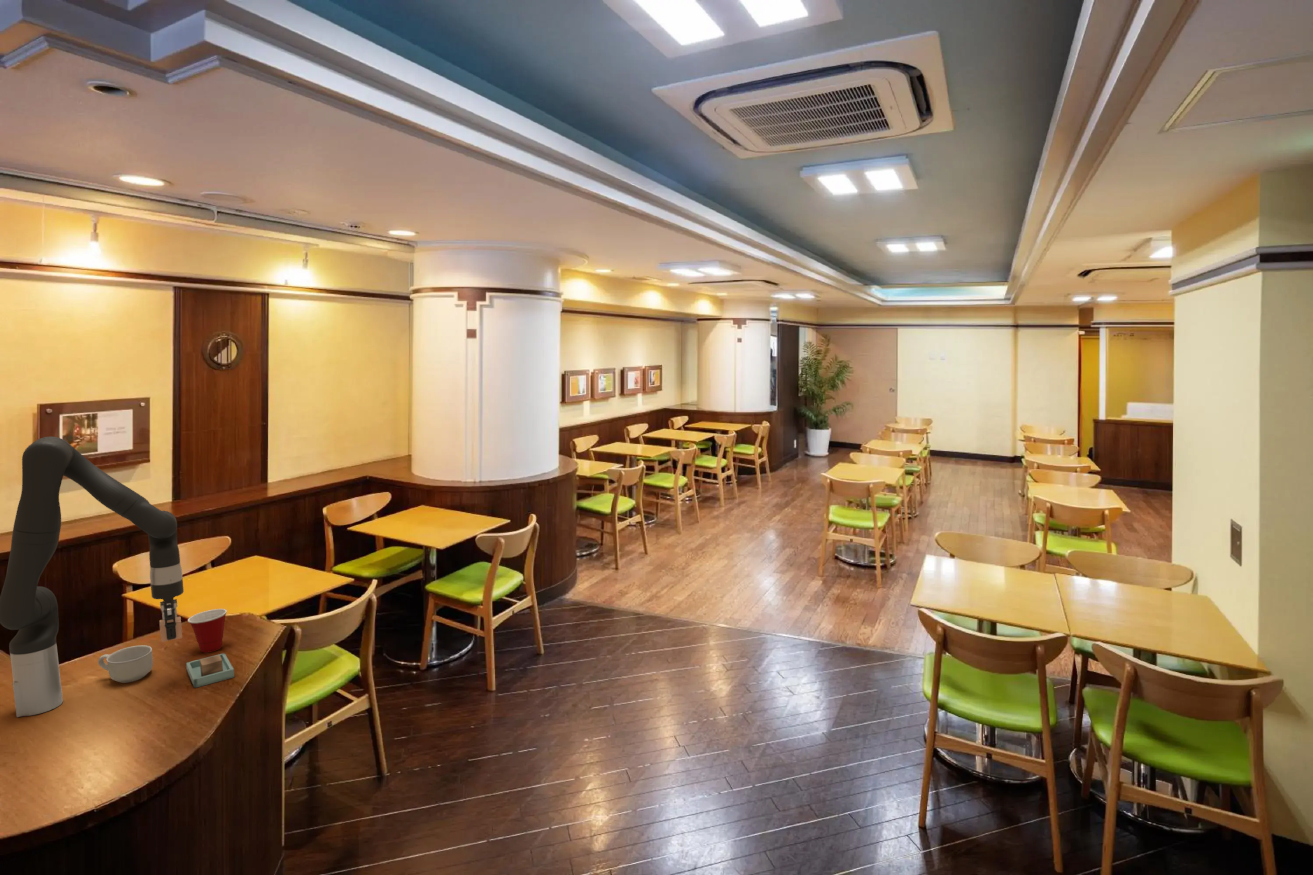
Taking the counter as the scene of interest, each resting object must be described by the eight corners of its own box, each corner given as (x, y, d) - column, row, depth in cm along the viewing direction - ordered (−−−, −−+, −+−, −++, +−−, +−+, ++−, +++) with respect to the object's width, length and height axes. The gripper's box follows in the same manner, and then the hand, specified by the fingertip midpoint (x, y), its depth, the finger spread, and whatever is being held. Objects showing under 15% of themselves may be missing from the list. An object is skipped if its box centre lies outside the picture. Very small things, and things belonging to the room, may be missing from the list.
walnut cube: (203, 681, 194) (202, 665, 194) (201, 675, 198) (199, 659, 198) (223, 676, 198) (222, 660, 197) (220, 670, 201) (219, 654, 201)
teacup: (163, 670, 203) (161, 645, 202) (132, 687, 192) (129, 661, 191) (122, 668, 204) (119, 643, 203) (88, 685, 194) (86, 659, 193)
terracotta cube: (161, 642, 191) (159, 625, 190) (160, 636, 195) (159, 620, 194) (182, 637, 194) (181, 621, 193) (181, 632, 198) (180, 616, 197)
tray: (194, 687, 192) (193, 679, 191) (186, 670, 203) (186, 662, 202) (234, 676, 198) (233, 669, 198) (225, 660, 209) (224, 653, 209)
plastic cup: (195, 645, 221) (192, 610, 220) (232, 640, 225) (230, 606, 224) (186, 658, 211) (183, 622, 210) (225, 652, 215) (223, 617, 214)
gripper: (183, 583, 189) (188, 640, 191) (181, 571, 200) (185, 625, 202) (150, 588, 184) (155, 647, 186) (150, 575, 196) (155, 631, 197)
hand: (171, 635), depth 194 cm, fingers closed on terracotta cube, 5 cm apart
